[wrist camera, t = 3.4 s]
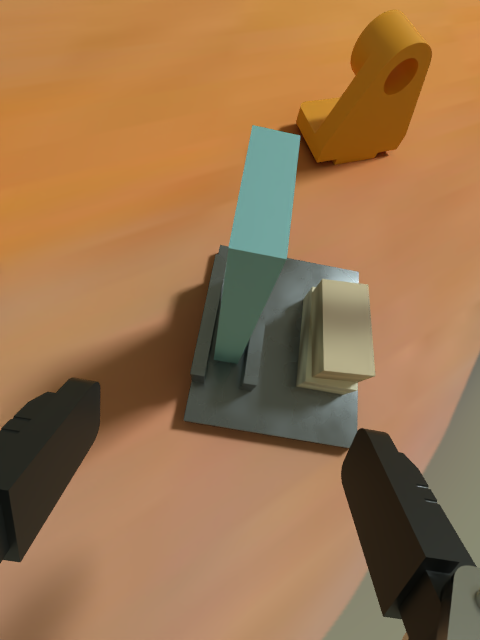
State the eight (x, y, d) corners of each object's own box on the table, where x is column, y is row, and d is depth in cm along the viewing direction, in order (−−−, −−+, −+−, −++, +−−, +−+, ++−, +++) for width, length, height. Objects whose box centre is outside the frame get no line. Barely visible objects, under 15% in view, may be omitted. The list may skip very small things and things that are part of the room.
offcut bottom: (343, 394, 25) (357, 390, 23) (296, 386, 25) (305, 381, 23) (345, 307, 28) (358, 295, 26) (303, 299, 28) (312, 286, 26)
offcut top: (358, 382, 23) (375, 375, 21) (311, 377, 23) (323, 370, 21) (353, 298, 26) (368, 284, 23) (311, 293, 26) (322, 278, 23)
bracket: (366, 114, 40) (428, -9, 29) (392, 155, 38) (470, 38, 27) (291, 124, 38) (328, -5, 27) (314, 168, 36) (364, 47, 25)
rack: (350, 448, 25) (377, 450, 21) (184, 421, 24) (180, 418, 20) (353, 277, 31) (374, 254, 27) (219, 252, 30) (222, 224, 26)
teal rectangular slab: (237, 363, 25) (286, 259, 10) (213, 359, 25) (228, 248, 10) (248, 298, 27) (300, 135, 13) (225, 294, 27) (252, 125, 13)
